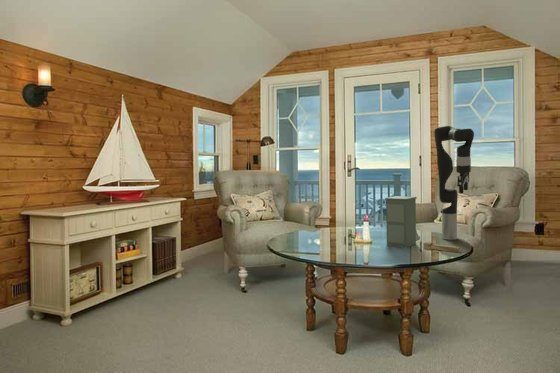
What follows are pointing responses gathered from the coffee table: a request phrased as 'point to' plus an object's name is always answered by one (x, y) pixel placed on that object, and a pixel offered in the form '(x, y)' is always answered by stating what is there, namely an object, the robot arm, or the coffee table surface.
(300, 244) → the coffee table surface
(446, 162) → the robot arm
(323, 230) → the coffee table surface
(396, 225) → the cabinet
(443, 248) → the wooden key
